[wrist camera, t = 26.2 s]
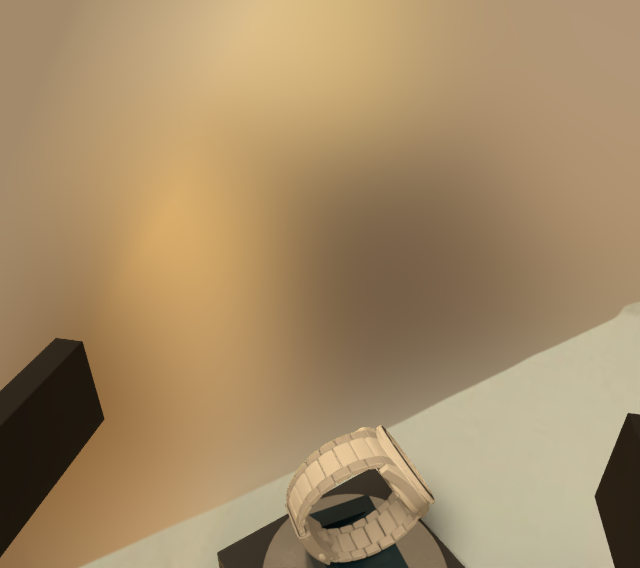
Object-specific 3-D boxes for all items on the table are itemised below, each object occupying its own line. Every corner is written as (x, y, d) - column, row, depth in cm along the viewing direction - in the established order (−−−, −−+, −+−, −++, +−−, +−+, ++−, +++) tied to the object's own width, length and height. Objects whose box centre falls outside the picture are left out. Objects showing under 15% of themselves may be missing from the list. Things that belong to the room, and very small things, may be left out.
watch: (435, 590, 32) (460, 464, 26) (309, 644, 29) (307, 517, 24) (391, 514, 36) (404, 392, 31) (279, 554, 34) (271, 430, 28)
